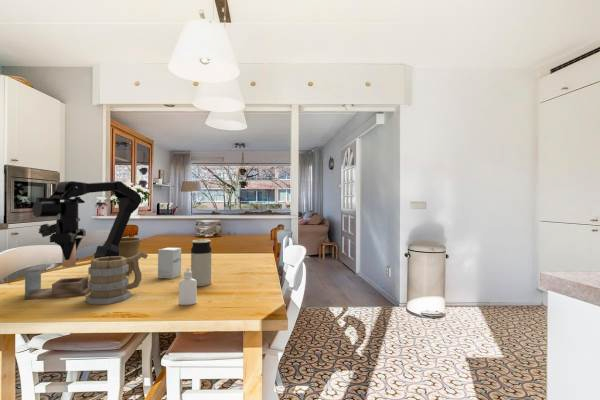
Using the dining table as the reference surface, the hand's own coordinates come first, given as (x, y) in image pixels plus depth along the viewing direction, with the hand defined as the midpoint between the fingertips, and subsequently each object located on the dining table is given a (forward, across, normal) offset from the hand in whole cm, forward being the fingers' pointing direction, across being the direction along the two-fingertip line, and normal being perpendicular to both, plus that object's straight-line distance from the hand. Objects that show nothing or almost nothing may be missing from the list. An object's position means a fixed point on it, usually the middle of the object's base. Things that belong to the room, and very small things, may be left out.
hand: (69, 258), depth 122 cm
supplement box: (+14, -19, +33) cm, 41 cm away
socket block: (+13, -1, -3) cm, 13 cm away
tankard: (+13, +9, +18) cm, 24 cm away
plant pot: (+13, -31, +12) cm, 36 cm away
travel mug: (+14, -1, +46) cm, 48 cm away
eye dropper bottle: (+13, +24, +41) cm, 49 cm away
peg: (+2, 0, 0) cm, 2 cm away
